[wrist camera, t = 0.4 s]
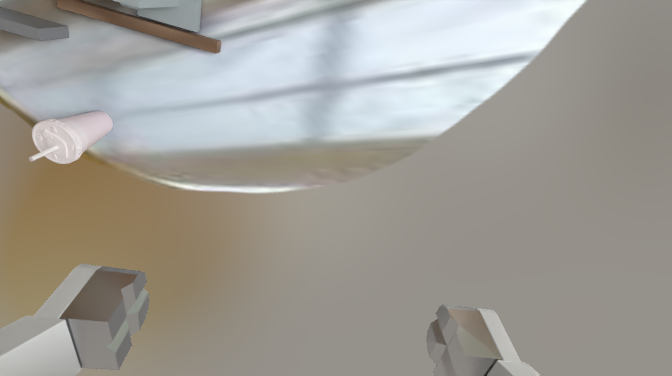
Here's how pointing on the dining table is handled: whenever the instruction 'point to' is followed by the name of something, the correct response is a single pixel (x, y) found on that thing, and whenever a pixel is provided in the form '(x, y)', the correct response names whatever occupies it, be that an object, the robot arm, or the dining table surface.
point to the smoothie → (69, 135)
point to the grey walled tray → (31, 26)
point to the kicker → (169, 11)
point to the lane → (140, 24)
